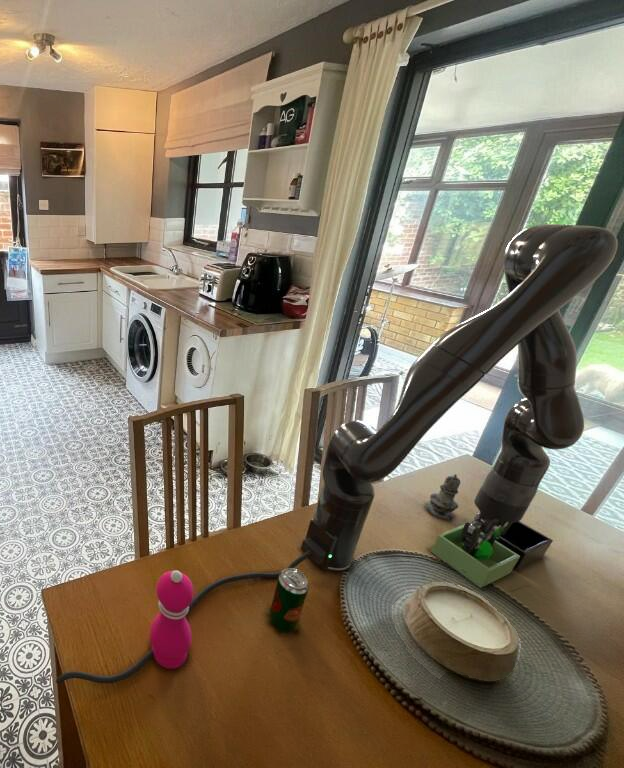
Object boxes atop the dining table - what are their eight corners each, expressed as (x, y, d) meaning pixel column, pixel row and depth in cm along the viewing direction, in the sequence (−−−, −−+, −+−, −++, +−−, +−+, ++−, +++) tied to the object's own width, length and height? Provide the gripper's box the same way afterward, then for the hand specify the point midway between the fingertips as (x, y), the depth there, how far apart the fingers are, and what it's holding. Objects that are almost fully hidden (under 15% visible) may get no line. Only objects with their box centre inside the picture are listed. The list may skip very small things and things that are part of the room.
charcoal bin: (515, 570, 89) (525, 553, 87) (464, 537, 98) (472, 520, 95) (542, 556, 92) (553, 540, 90) (491, 525, 101) (499, 509, 99)
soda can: (283, 639, 75) (296, 595, 70) (262, 616, 79) (273, 572, 74) (302, 627, 77) (316, 583, 72) (281, 605, 81) (292, 562, 76)
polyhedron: (490, 567, 87) (499, 551, 85) (462, 559, 89) (470, 543, 87) (483, 550, 91) (491, 534, 89) (456, 543, 93) (464, 527, 91)
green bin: (480, 588, 85) (490, 570, 83) (430, 551, 94) (438, 535, 91) (510, 573, 88) (520, 556, 86) (459, 539, 97) (467, 523, 95)
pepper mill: (179, 680, 69) (189, 601, 60) (141, 657, 72) (145, 578, 64) (195, 644, 74) (206, 566, 66) (159, 624, 78) (165, 547, 69)
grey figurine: (458, 521, 102) (476, 483, 97) (431, 518, 103) (448, 480, 98) (445, 505, 107) (462, 468, 102) (420, 502, 108) (436, 465, 103)
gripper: (505, 473, 88) (475, 532, 95) (462, 489, 83) (434, 550, 91) (549, 495, 82) (513, 556, 89) (506, 514, 77) (471, 577, 84)
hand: (473, 553), depth 90 cm, fingers closed on polyhedron, 5 cm apart
